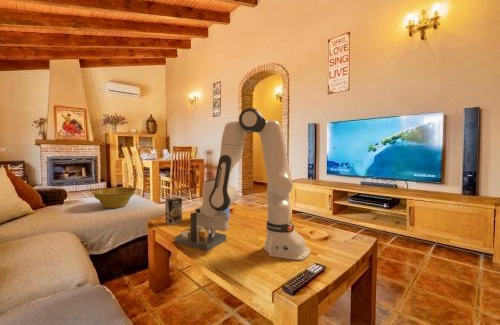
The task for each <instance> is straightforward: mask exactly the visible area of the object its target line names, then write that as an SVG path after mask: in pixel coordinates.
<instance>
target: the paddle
mask: <svg viewBox="0 0 500 325" xmlns="http://www.w3.org/2000/svg"><path fill="white" fill-rule="evenodd" d="M199 237H203V238H206V237H208V232H207V230H203V229H202V230H200V231H199Z"/></svg>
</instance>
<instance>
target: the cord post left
mask: <svg viewBox="0 0 500 325" xmlns="http://www.w3.org/2000/svg"><path fill="white" fill-rule="evenodd" d="M189 216H190V218H189V219H190V230H191V241H196V240H197V218H196V213H195V212H191V213H190V215H189Z"/></svg>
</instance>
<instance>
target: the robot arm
mask: <svg viewBox="0 0 500 325" xmlns="http://www.w3.org/2000/svg"><path fill="white" fill-rule="evenodd" d="M252 133H253V134H254V133H257V134H258V136H259V138H260V142H261V148H262V155H263V160H264V166H265V171H266V178H267V179H266V181H267V182H266V188H267V189H266V190H267V193H266V194H267V220H266V238H265V239H266V240H265V244H264V246H263V248H264V249H263V250H264V251H265V252H267V254H268V256H269V257H273V258H279V259H280V258H282V259H288V260H292V261H294V260H295V261H304V260H307V258H308V257H309V256H310V255H311V248H309V247H308V246H306V240H305V239H304V237H303V236H302V235H301V234H299V233H298V232H297V231H296V230H295V229H294V228H295V225H296V224H295V223H292V222H291V221H292V220H291V199H290V193H291V191H292V189H293V179H292V173H291V170H290V165H289V161H288V157H287V151H286V150H287V149H286V144H285V138H284V137H285V136H284V133H283V130H282V127H281V124H280V122H279V121H277V120H275V119H268V120H266V118H265V117H264V116H263V114H262V112H260V111H259V110H258V109H256V108H254V107H247V108H245V109H242V111H241V112H240V114H239V117H238V121H229V122H227V123H226V124H225V126H224V128H223V133H222V136H221V144H220V145H221V146H220V150H219V151H220V152H219V153H220V154H219V158H218V159H219V160H218V163H217V167H216V173H215V178H211V179H207V180H204V182H203V183H202V193H201V194H202V196H201V197H202V204H201V206H198V207H196V208H194V213H196V218H197V226H201V227H206V230H207V232H208V236H211V237H214V236H215V232H216V231H220V232H224V233H225V232H227V231H228V230H229V228H230V224H229V219H228V215H227V214H226V213H224V212H220V211H224V210H226V209H227V208H228V207H229V208H230V206H231V205H233V204H234V203H235V202H236V201H238V197H239V193H238V191H237V188H235V186H232V185H229V183H230V178H231V177H230V176H231V173H232V170H233V168H234V167H235V166H236V165H237V163H239V161H240V160H241V159H242V156H243V153H244V152H243V151H244V147H245V138H246V135H247V134H252ZM225 214H226V215H225ZM210 229H212V232H211V230H210ZM216 233H217V232H216ZM309 254H310V255H309Z"/></svg>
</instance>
